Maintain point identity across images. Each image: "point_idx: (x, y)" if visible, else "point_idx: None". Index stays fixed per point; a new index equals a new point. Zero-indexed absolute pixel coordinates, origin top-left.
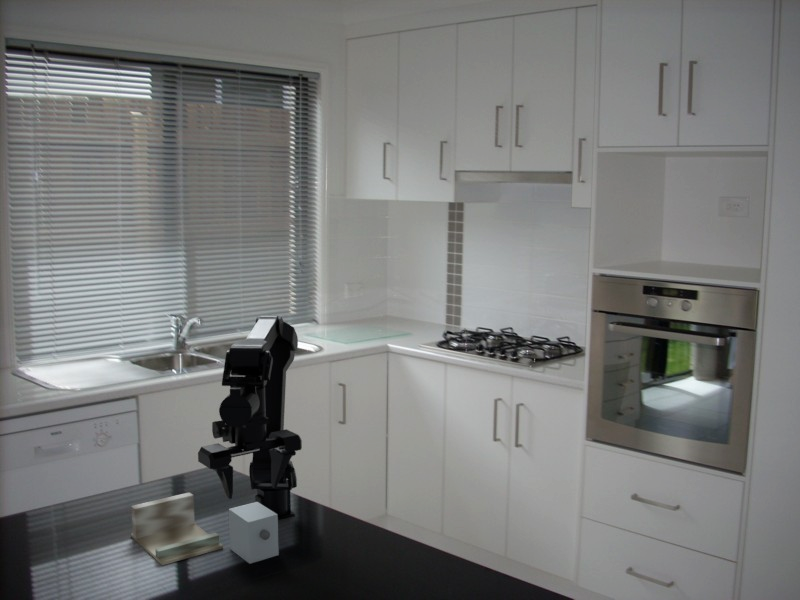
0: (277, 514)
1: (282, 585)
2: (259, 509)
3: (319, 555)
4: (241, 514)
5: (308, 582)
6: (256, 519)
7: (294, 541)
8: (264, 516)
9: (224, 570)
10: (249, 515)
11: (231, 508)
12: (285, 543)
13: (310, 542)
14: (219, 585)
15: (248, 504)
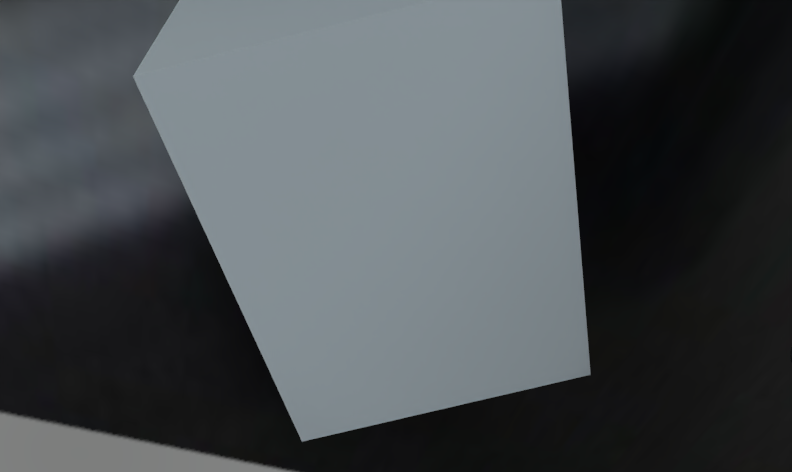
0: (589, 373)
1: (404, 443)
2: (487, 223)
3: (696, 248)
4: (270, 283)
5: (513, 448)
6: (384, 412)
7: (686, 6)
8: (470, 378)
9: (148, 244)
10: (345, 323)
11: (171, 78)
12: (617, 13)
13: (761, 66)
14: (116, 377)
15: (417, 24)
